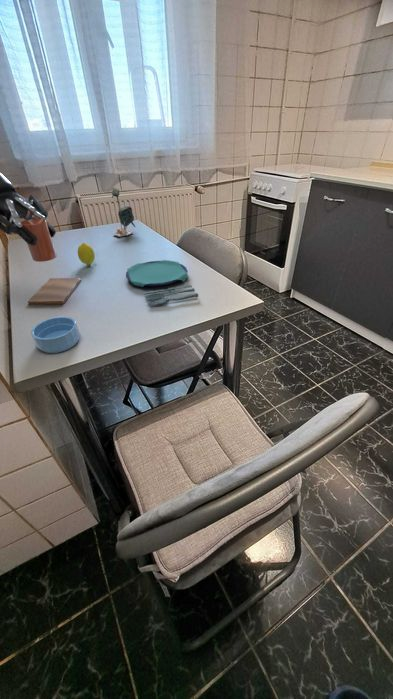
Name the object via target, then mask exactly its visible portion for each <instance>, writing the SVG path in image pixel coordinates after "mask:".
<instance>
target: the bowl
mask: <svg viewBox="0 0 393 699" xmlns="http://www.w3.org/2000/svg"><path fill="white" fill-rule="evenodd" d="M30 333H31V337H32V340H33V342H34V344H35V346H36V348H37V349H38V350H40V351H42V352H44V353H47V354H57V353H62V352H65V351H68V350H70V349H71V348H73V347H75V345H77V344H78V342H79V339H80V335H81V334H80V331H79V327H78V324H77V322H76V320H75V319H74V318H73V317H69V316H55V317H50V318H47V319H43V320H42V321H40V322H39V323H37V324H35V326H33V328H32V329H31V331H30Z"/></svg>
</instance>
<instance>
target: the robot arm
mask: <svg viewBox="0 0 393 699" xmlns="http://www.w3.org/2000/svg"><path fill="white" fill-rule="evenodd" d="M48 217H49V213H48V212H47V210H46V209H45V208H44V207H43V205H42V204H41V203H40V202H39V200H38V198H36V197H35V196H34V195H32V194H29V196H28V197H24V196H22V195H21V194H18V192H17V191H16V189H15V187H14V185H13V184H12V183H11V182H10V181H9V179H8V178H6V177H5V176H4V174H3V173H1V172H0V230H1V231H2V232H4V233H5V234H7V235H11V234H15V235H18V236H19V238H21V239H22V240H23V241H24V242H25V243H28V244H30V245H31V246H33V245H35V244H36V242H37V239H36V237H35V236H33V235H32V234H31V233H30V232H29V231H28V230H27V229H26V228H25V227H22V224H21V222H22V221H21V219H24V220H30V219H45V220H46V222H47V225H48V228H49V232H50V235H51V238H54V237H55V235H56V233H57V232H56V229H55V228H54V227H53V226H52V225H51V224H50V222H48V221H47V218H48Z"/></svg>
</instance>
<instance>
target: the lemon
mask: <svg viewBox="0 0 393 699" xmlns="http://www.w3.org/2000/svg"><path fill="white" fill-rule="evenodd" d="M77 257H78V259H79V260H80V262H81V263H83V264H84V265H87V266H91V264H93V263H94V261H95V258H96V255H95V251H94V249H93V247H92V246H91V245H90V244H88V243H85V242H82V243H81V244H79V246H78V248H77Z"/></svg>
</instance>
